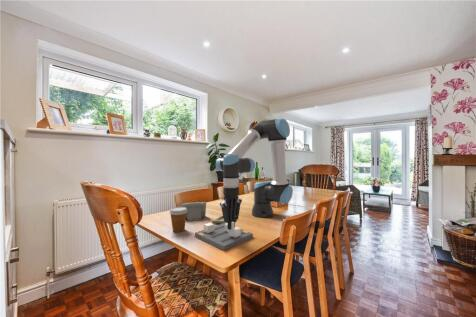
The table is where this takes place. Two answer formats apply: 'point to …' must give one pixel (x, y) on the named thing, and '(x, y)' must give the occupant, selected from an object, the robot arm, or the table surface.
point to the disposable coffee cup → (178, 218)
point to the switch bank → (222, 237)
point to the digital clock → (195, 210)
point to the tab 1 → (208, 227)
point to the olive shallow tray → (219, 221)
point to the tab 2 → (237, 232)
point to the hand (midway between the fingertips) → (231, 235)
